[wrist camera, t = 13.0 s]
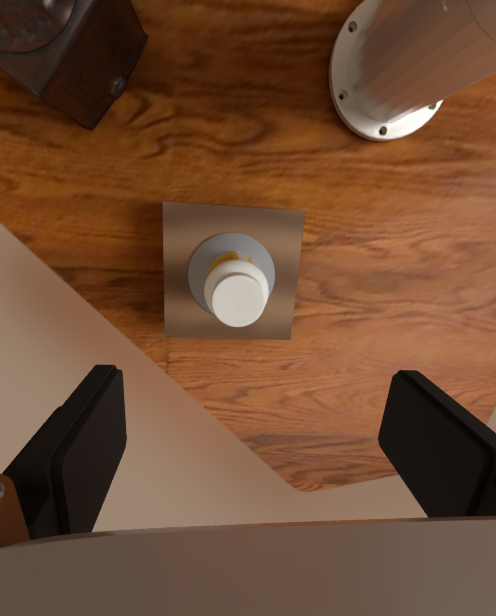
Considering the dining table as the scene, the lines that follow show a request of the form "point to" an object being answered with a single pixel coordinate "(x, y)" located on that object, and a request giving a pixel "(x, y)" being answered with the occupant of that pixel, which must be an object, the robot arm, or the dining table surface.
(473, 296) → the dining table surface
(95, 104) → the pepper mill
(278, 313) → the walnut plinth
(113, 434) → the robot arm
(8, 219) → the dining table surface
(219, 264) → the supplement bottle
